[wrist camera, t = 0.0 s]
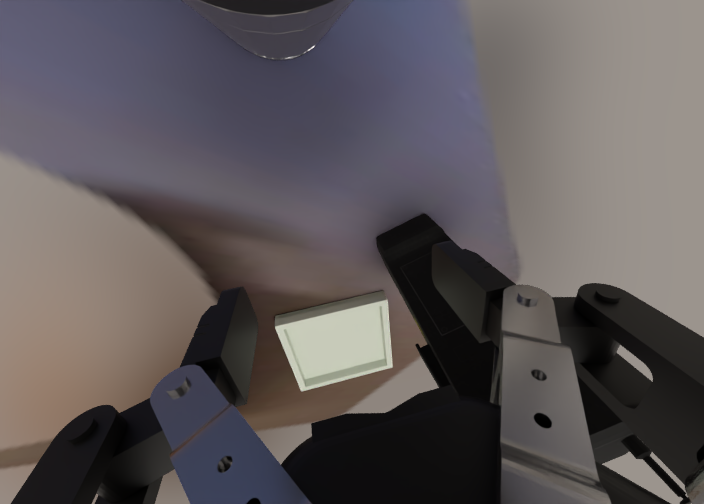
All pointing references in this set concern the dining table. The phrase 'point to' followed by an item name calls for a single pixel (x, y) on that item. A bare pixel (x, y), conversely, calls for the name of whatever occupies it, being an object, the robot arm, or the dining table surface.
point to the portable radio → (477, 358)
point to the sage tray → (337, 340)
